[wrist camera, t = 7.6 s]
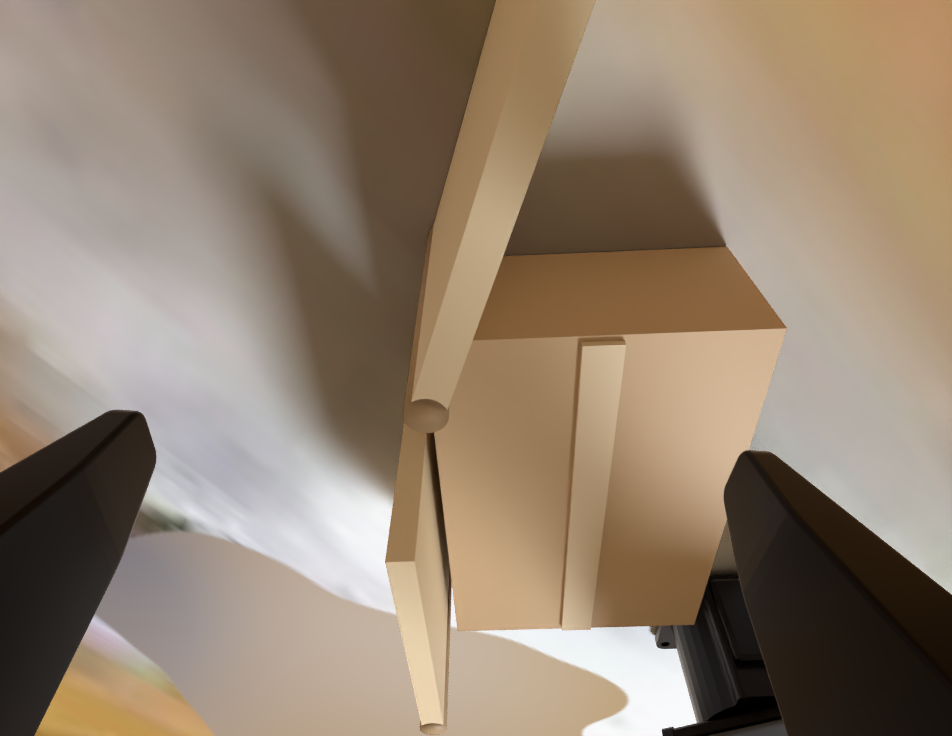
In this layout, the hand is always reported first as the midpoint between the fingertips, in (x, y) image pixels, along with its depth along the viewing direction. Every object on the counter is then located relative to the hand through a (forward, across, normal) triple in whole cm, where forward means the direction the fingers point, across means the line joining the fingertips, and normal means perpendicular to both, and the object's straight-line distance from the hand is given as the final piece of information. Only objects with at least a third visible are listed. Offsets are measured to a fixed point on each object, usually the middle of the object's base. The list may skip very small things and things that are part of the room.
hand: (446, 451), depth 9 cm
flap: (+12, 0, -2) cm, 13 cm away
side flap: (+13, +1, +13) cm, 18 cm away
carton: (+13, -5, +10) cm, 17 cm away
